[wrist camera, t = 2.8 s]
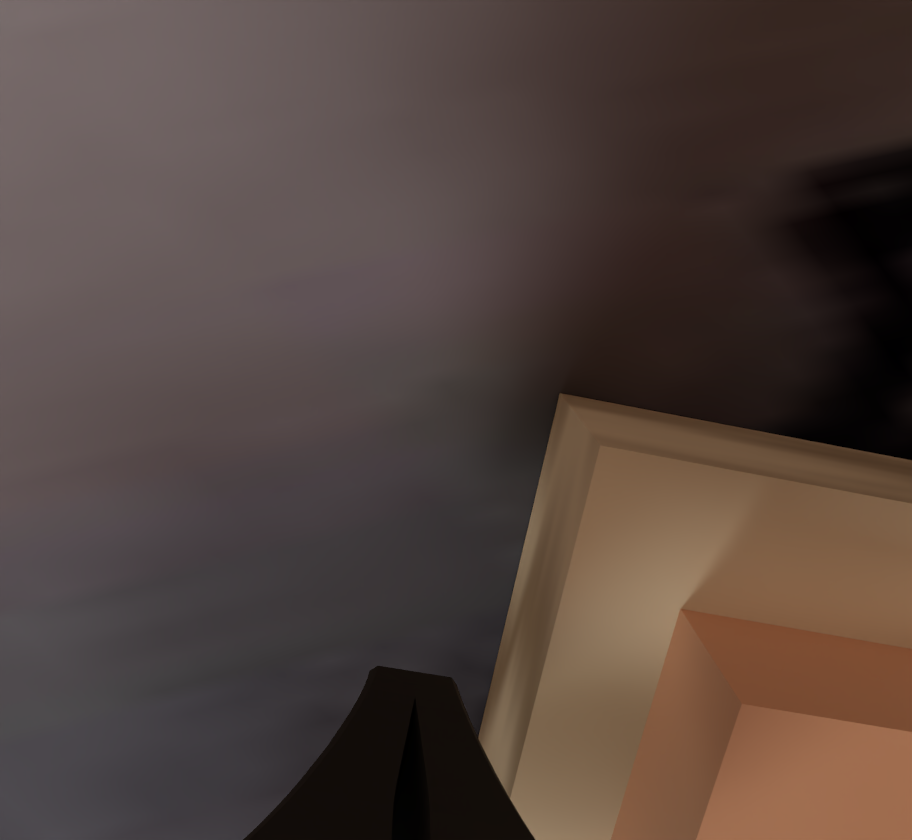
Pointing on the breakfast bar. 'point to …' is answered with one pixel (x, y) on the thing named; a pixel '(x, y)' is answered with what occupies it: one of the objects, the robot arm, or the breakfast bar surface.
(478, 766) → the robot arm
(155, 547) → the breakfast bar surface
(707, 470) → the beige bevelled block
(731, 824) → the terracotta-coloured block
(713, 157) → the breakfast bar surface
